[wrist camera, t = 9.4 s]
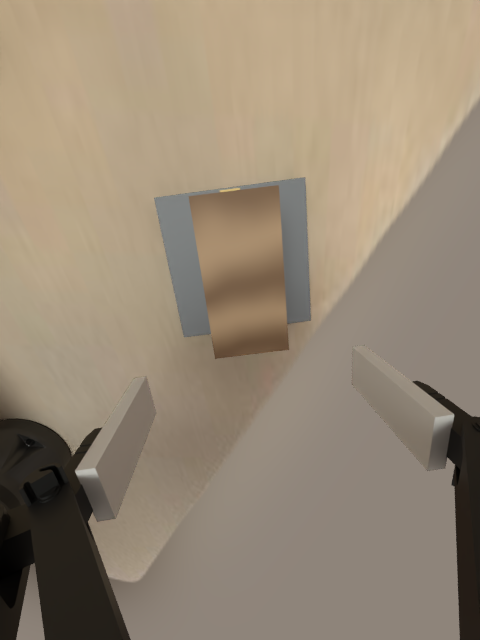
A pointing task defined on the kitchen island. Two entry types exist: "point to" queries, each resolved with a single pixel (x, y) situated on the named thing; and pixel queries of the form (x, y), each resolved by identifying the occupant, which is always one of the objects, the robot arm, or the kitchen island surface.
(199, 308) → the lock plate
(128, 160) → the kitchen island surface
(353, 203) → the kitchen island surface
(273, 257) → the wooden block on stand
